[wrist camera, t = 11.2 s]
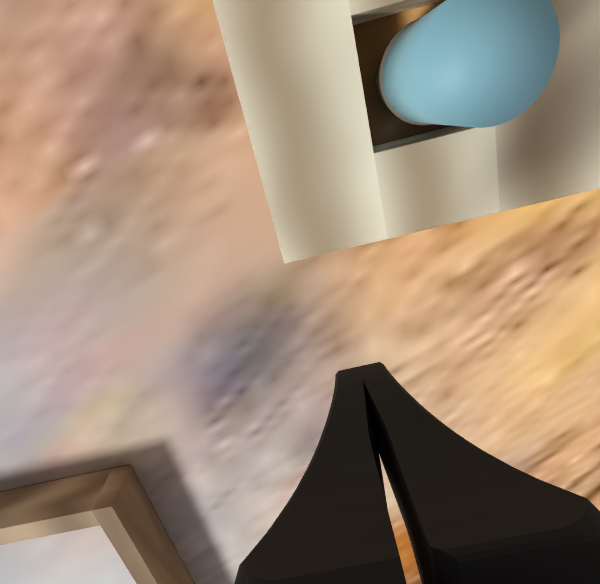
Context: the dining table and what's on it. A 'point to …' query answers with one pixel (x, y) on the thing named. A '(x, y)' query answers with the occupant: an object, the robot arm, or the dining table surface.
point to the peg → (470, 62)
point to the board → (404, 152)
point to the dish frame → (97, 520)
